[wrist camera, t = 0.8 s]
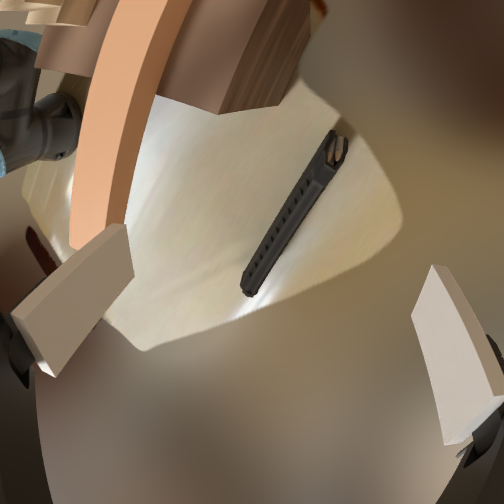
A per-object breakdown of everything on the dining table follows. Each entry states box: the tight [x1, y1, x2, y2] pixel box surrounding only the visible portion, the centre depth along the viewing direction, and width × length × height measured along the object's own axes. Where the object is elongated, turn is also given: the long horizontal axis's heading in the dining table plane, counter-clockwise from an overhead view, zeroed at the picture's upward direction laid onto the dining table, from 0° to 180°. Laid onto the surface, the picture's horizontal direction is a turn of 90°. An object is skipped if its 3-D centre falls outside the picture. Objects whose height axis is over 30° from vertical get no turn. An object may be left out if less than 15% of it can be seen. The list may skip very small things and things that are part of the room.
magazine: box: [240, 130, 348, 298], centre depth 46 cm, size 17×3×30 cm
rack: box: [0, 0, 310, 115], centre depth 22 cm, size 16×14×38 cm
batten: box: [69, 0, 193, 250], centre depth 12 cm, size 28×3×2 cm, turn 158°
